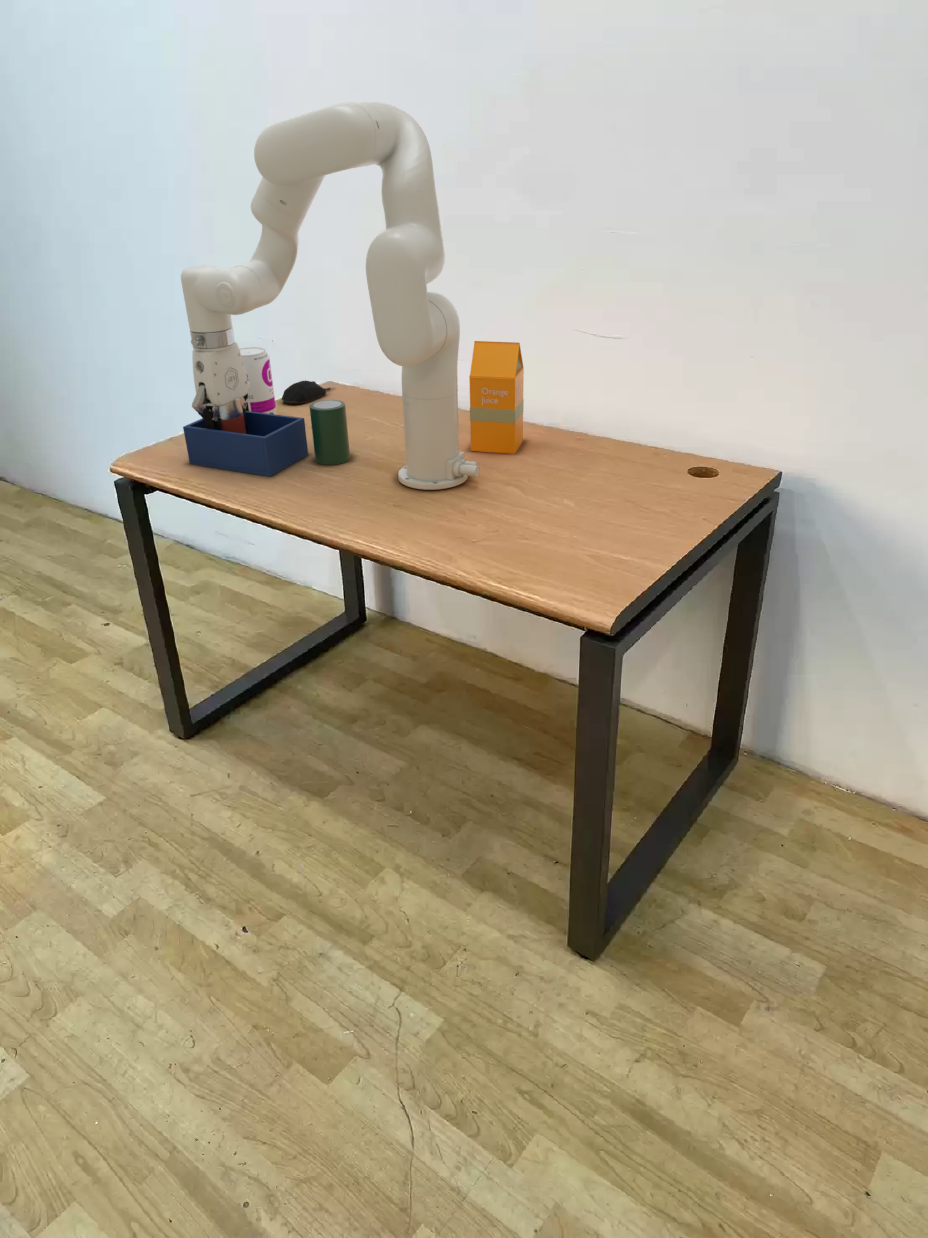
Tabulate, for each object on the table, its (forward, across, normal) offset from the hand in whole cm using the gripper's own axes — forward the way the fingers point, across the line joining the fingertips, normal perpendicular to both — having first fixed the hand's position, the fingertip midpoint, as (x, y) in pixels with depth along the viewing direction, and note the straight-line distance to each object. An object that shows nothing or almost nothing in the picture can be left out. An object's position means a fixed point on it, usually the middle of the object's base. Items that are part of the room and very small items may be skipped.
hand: (228, 433), depth 172 cm
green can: (+5, +6, -19) cm, 21 cm away
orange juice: (+5, +24, -46) cm, 52 cm away
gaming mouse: (+5, +40, +9) cm, 41 cm away
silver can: (+3, 0, 0) cm, 3 cm away
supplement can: (+5, +20, +8) cm, 22 cm away
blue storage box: (+5, 0, -4) cm, 6 cm away
